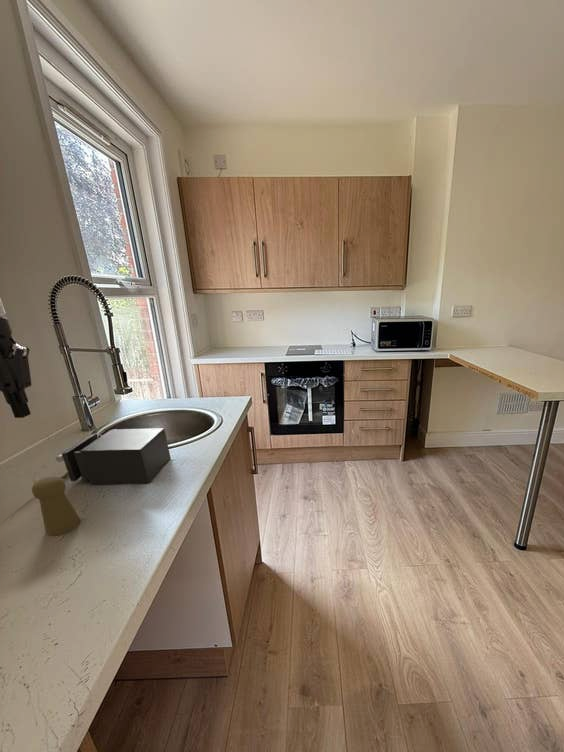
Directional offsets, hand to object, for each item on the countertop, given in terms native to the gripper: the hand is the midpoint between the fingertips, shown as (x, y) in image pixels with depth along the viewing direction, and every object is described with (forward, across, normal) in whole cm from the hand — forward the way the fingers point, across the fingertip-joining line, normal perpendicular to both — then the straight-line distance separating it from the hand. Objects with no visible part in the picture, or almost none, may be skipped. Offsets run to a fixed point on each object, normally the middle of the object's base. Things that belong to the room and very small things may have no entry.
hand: (23, 415), depth 87 cm
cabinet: (+16, -24, 0) cm, 29 cm away
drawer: (+16, -16, 0) cm, 22 cm away
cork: (+17, -21, +23) cm, 35 cm away
